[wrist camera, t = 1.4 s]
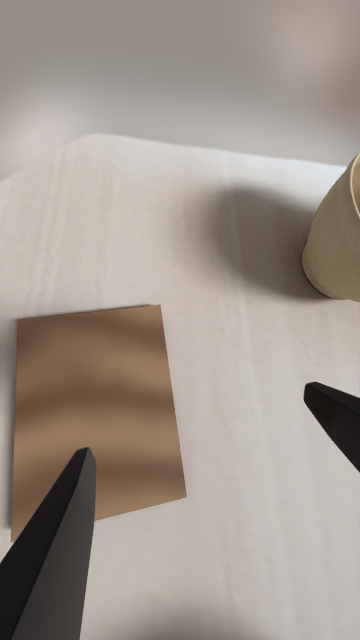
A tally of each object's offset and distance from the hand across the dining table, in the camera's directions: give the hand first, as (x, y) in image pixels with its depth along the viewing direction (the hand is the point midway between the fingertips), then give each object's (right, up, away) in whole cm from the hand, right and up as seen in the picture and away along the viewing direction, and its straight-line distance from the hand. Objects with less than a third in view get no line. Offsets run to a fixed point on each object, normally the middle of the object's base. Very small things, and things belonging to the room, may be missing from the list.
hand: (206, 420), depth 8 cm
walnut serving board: (-9, -4, +12) cm, 16 cm away
